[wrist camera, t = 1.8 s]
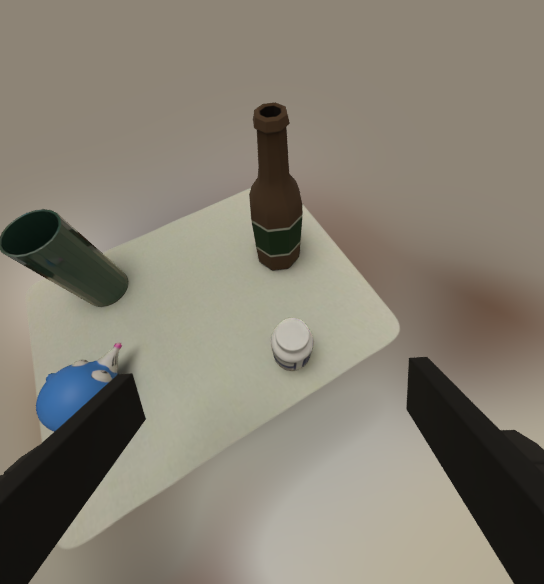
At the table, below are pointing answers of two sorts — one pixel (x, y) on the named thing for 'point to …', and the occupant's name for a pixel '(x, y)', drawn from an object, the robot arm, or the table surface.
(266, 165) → the beer bottle
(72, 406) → the blue mole toy
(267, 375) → the table surface
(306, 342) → the pill bottle
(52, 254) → the cup
